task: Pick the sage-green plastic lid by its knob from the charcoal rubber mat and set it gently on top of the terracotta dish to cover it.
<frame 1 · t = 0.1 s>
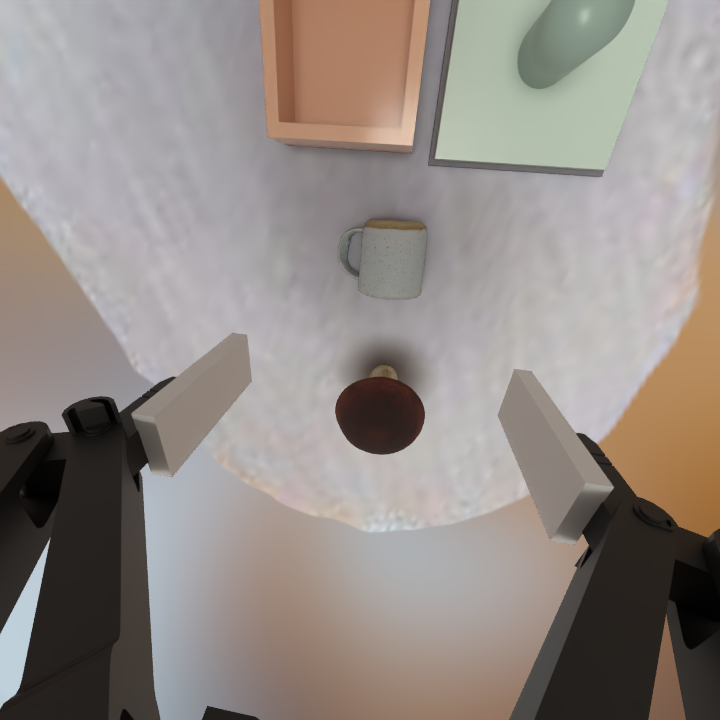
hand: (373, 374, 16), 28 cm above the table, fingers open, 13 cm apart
dish: (352, 66, 32), on the table
ceramic mug: (382, 254, 40), on the table
decorative mushroom: (385, 371, 48), on the table
lid: (542, 58, 29), resting on mat
mat: (540, 60, 30), on the table
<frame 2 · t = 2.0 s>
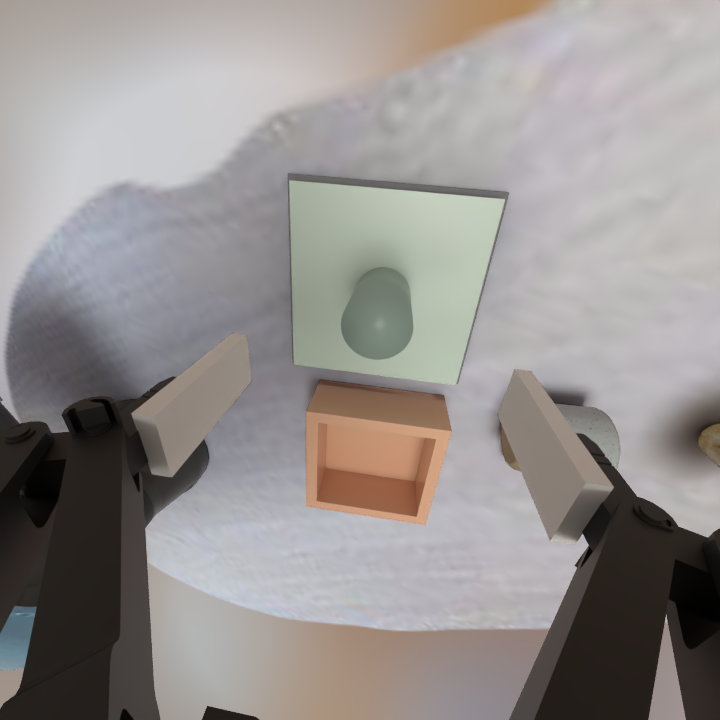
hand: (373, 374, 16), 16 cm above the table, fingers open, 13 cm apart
dish: (374, 435, 38), on the table
ceramic mug: (536, 425, 35), on the table
decorative mushroom: (710, 429, 33), on the table
lid: (383, 291, 30), resting on mat
mat: (383, 290, 30), on the table
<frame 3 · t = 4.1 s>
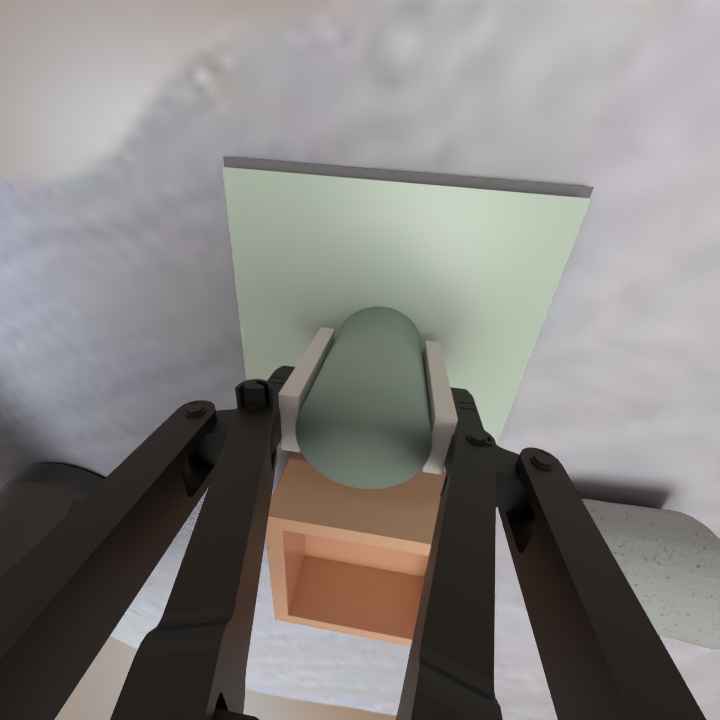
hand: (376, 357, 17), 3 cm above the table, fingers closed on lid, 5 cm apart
dish: (369, 518, 28), on the table
ceramic mug: (592, 522, 25), on the table
lid: (380, 339, 19), resting on mat, touching gripper
mat: (380, 336, 20), on the table
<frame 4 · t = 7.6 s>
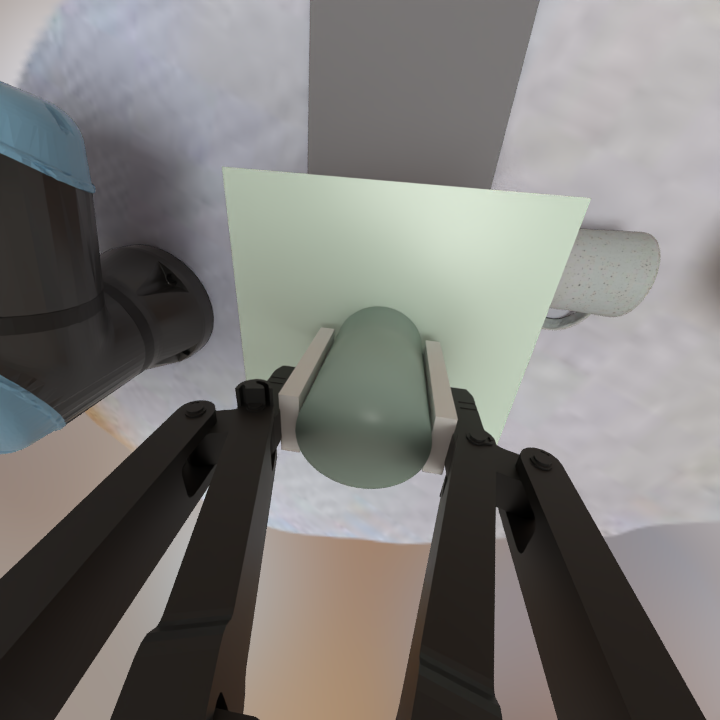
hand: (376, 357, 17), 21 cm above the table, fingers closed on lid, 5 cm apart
ceramic mug: (562, 277, 33), on the table
lid: (380, 339, 19), point 18 cm above the table, touching gripper
mat: (411, 75, 27), on the table
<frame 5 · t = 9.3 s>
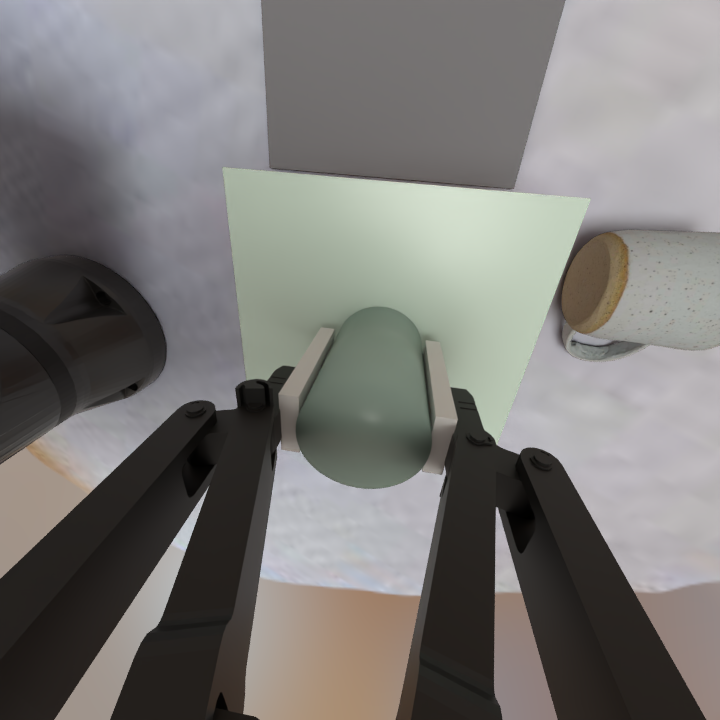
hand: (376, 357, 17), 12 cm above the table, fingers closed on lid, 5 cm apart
ceramic mug: (609, 293, 25), on the table
lid: (380, 339, 19), point 9 cm above the table, touching gripper
mat: (406, 8, 19), on the table
when the fingers open (9 cm above the table, at t = 11.0 s): lid stays where it is, resting on dish.
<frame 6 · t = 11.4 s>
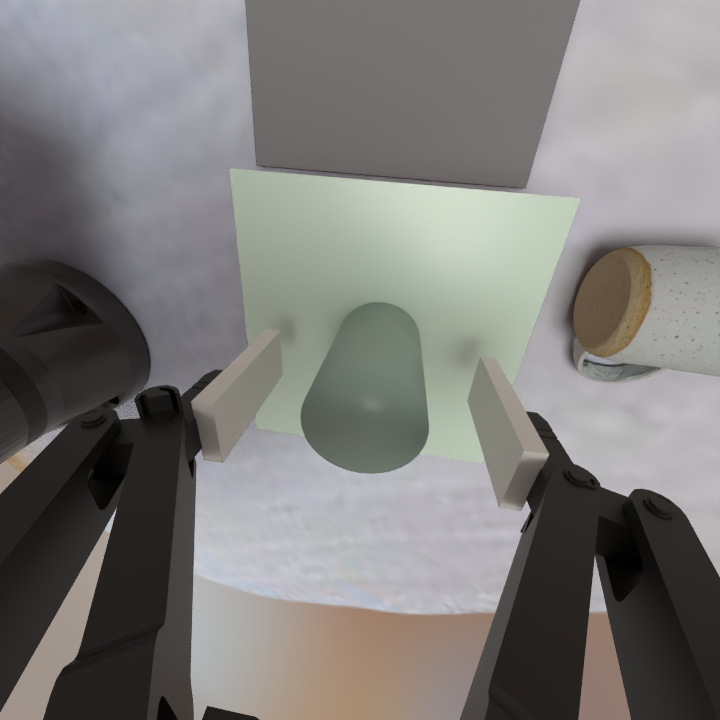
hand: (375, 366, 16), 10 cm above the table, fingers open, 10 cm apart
ceramic mug: (624, 309, 24), on the table
lid: (380, 334, 20), point 6 cm above the table, touching dish
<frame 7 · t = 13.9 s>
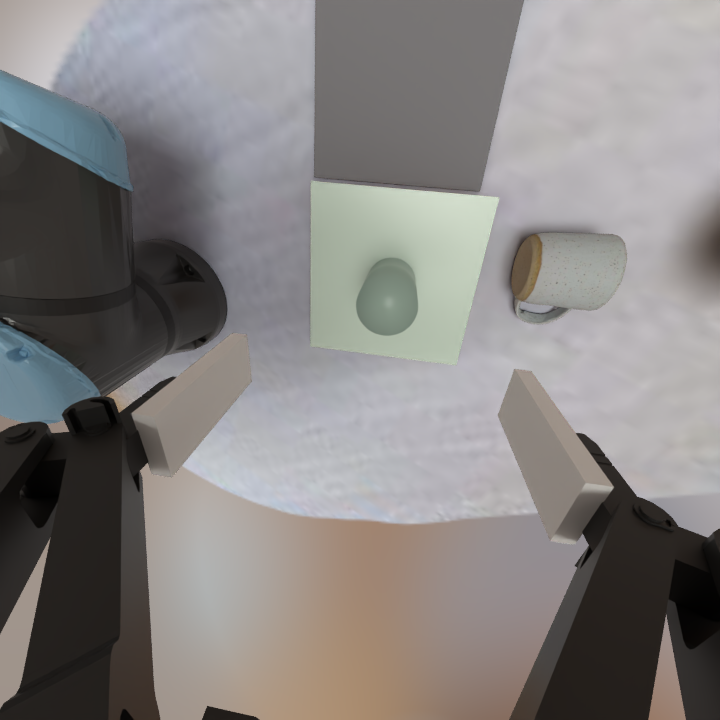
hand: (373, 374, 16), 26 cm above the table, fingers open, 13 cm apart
ceramic mug: (545, 275, 37), on the table
lid: (391, 279, 33), point 6 cm above the table, touching dish
mat: (407, 77, 30), on the table
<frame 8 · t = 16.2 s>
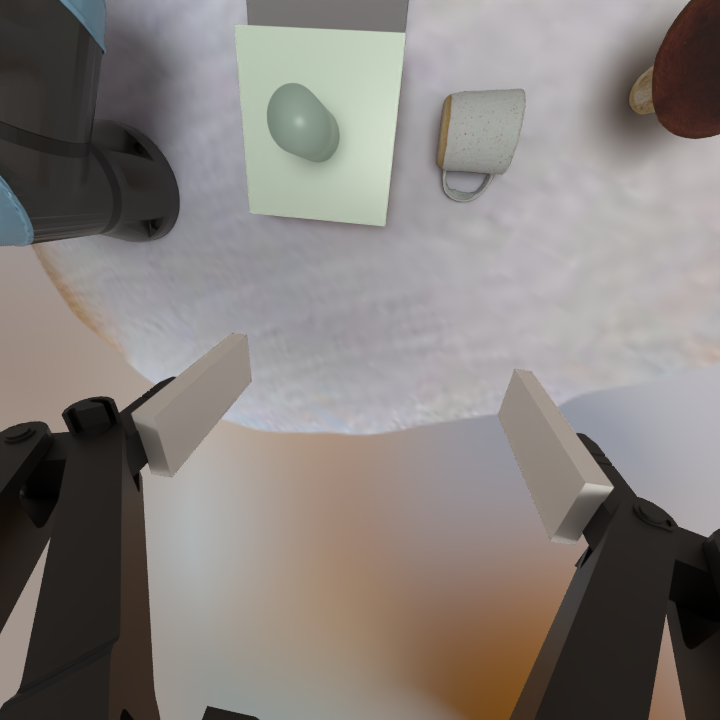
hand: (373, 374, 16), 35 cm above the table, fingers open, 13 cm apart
ceramic mug: (470, 152, 39), on the table
decorative mushroom: (642, 93, 35), on the table
lid: (319, 137, 35), point 6 cm above the table, touching dish
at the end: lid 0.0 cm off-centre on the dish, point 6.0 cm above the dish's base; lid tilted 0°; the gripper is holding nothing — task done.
